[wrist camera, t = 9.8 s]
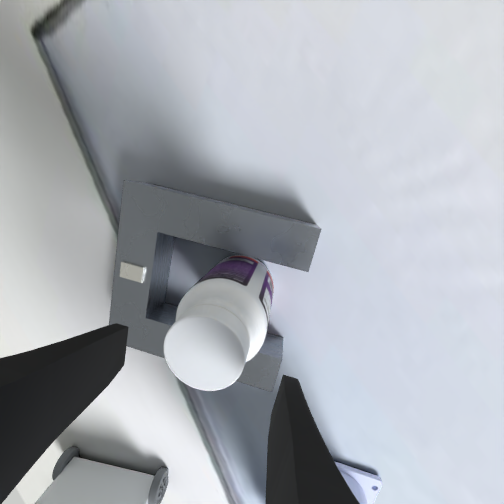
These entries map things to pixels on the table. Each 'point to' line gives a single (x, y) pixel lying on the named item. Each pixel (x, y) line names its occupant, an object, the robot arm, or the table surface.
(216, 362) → the pill bottle
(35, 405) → the robot arm
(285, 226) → the bracket
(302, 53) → the table surface
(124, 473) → the toy rover
